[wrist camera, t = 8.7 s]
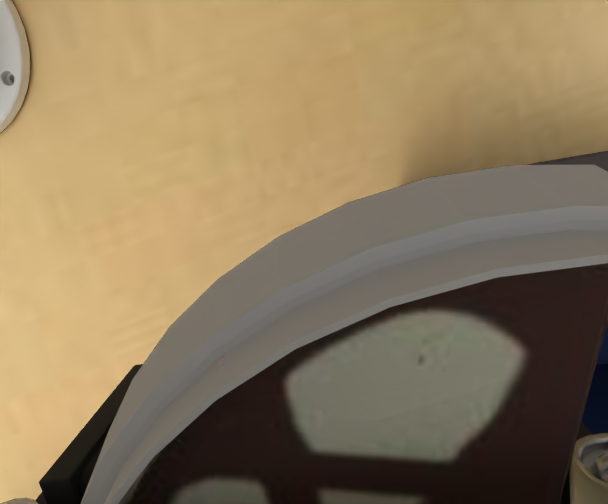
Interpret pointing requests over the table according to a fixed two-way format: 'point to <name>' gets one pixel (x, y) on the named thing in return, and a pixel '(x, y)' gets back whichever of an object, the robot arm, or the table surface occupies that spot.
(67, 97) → the table surface
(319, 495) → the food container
